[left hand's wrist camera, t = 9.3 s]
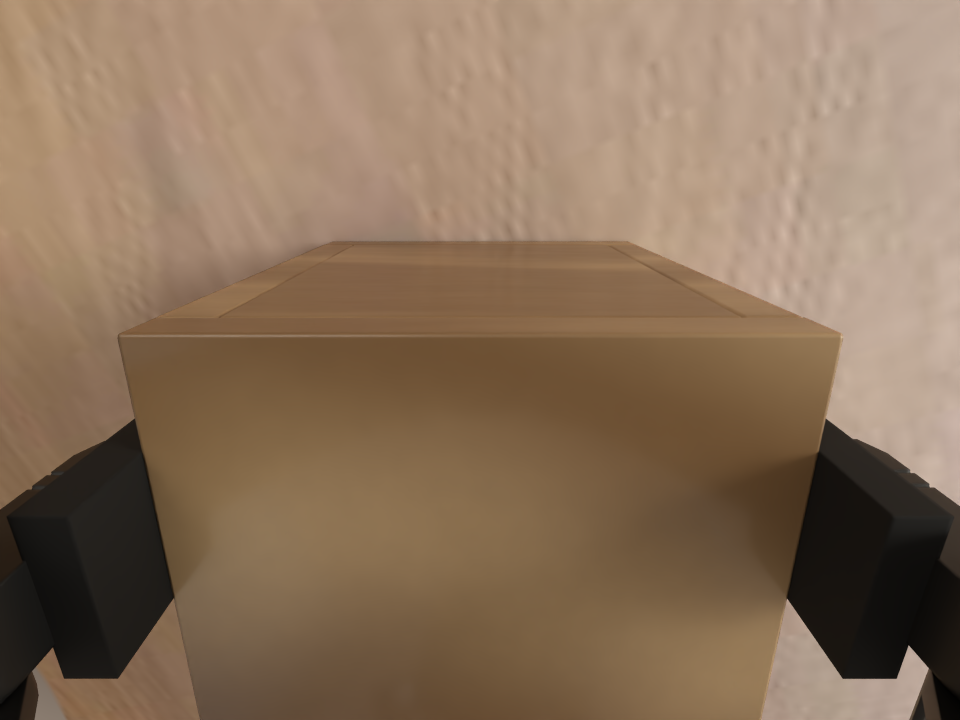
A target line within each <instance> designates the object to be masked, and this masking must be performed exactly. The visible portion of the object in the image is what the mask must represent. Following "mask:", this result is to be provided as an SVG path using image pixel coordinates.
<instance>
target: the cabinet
mask: <svg viewBox="0 0 960 720" xmlns="http://www.w3.org/2000/svg"><path fill="white" fill-rule="evenodd" d="M842 341H843V335H842V333H839V332H837V331H835V330H832V329H830V328H828V327H825V326H823V325H821V324H818V323H816V322H814V321H811V320H809V319H807V318H802V317H801V316H798V315H796V314H794V313H791V312H789V311H787V310H784V309H782V308H780V307H777V306H775V305H773V304H771V303H768V302H766V301H764V300H761V299H759V298H757V297H754V296H752V295H750V294H748V293H745V292H743V291H741V290H738V289H736V288H734V287H731V286H729V285H727V284H724V283H722V282H720V281H718V280H715V279H713V278H711V277H708V276H706V275H704V274H701V273H699V272H697V271H694V270H692V269H690V268H688V267H685V266H683V265H681V264H678V263H676V262H674V261H671V260H669V259H667V258H664V257H662V256H660V255H658V254H655V253H653V252H651V251H648V250H646V249H644V248H641V247H639V246H637V245H635V244H632V243H630V242H628V241H585V242H331V243H329V244H326V245H323V246H321V247H318V248H316V249H314V250H311V251H309V252H307V253H304V254H302V255H300V256H297V257H295V258H293V259H290V260H288V261H286V262H283V263H281V264H279V265H277V266H274V267H272V268H270V269H267V270H265V271H263V272H260V273H258V274H256V275H253V276H251V277H249V278H246V279H244V280H242V281H240V282H237V283H235V284H233V285H230V286H228V287H226V288H223V289H221V290H219V291H216V292H214V293H212V294H209V295H207V296H205V297H202V298H200V299H198V300H196V301H193V302H191V303H189V304H186V305H184V306H182V307H179V308H177V309H175V310H172V311H170V312H168V313H165V314H163V315H161V316H158V317H157V318H155V319H152V320H150V321H148V322H146V323H143V324H141V325H139V326H136V327H134V328H132V329H129V330H127V331H125V332H122V333H120V334H119V335H118V342H119V347H120V351H121V356H122V361H123V365H124V370H125V375H126V379H127V384H128V388H129V393H130V398H131V402H132V407H133V412H134V416H135V421H136V425H137V430H138V435H139V439H140V444H141V449H142V453H143V458H144V462H145V467H146V472H147V476H148V481H149V486H150V490H151V495H152V499H153V504H154V509H155V513H156V518H157V523H158V527H159V532H160V536H161V541H162V546H163V550H164V555H165V560H166V564H167V569H168V573H169V578H170V583H171V587H172V592H173V597H174V601H175V606H176V610H177V615H178V620H179V624H180V629H181V633H182V638H183V643H184V647H185V652H186V657H187V661H188V666H189V670H190V675H191V680H192V684H193V689H194V694H195V698H196V703H197V707H198V712H199V717H200V720H761V717H762V712H763V708H764V703H765V698H766V694H767V689H768V684H769V680H770V675H771V670H772V666H773V661H774V656H775V652H776V647H777V643H778V638H779V633H780V629H781V624H782V619H783V615H784V610H785V605H786V601H787V596H788V591H789V587H790V582H791V578H792V573H793V568H794V564H795V559H796V554H797V550H798V545H799V540H800V536H801V531H802V526H803V522H804V517H805V512H806V508H807V503H808V499H809V494H810V489H811V485H812V480H813V475H814V471H815V466H816V461H817V457H818V452H819V447H820V443H821V438H822V433H823V429H824V424H825V420H826V415H827V410H828V406H829V401H830V396H831V392H832V387H833V382H834V378H835V373H836V368H837V364H838V359H839V354H840V350H841V345H842Z"/></svg>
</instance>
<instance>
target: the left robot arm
mask: <svg viewBox="0 0 960 720" xmlns="http://www.w3.org/2000/svg"><path fill="white" fill-rule="evenodd" d="M173 598H174V597H173V592H172V587H171V583H170V578H169V573H168V569H167V564H166V560H165V555H164V550H163V546H162V541H161V536H160V532H159V527H158V523H157V518H156V513H155V509H154V504H153V499H152V495H151V490H150V486H149V481H148V476H147V472H146V467H145V462H144V458H143V453H142V449H141V444H140V439H139V435H138V430H137V425H136V421H135V419H134V420H132V421H131V422H130V423H128V424H127V425H126V426H125V427H123V428H122V429H121V430H119V431H118V432H117V433H115V434H114V435H113V436H111V437H110V438H109V439H107V440H106V441H104V442H101V443H99V444H97V445H95V446H93V447H91V448H89V449H86V450H84V451H82V452H80V453H78V454H76V455H74V456H72V457H71V458H70V459H68V460H67V461H66V462H64V463H63V464H62V465H60V466H59V467H57V468H56V469H55V470H53V471H52V472H51V475H47V476H45V477H44V478H43V479H41V480H40V481H39V482H37V483H36V484H34V485H33V486H32V490H26V491H25V492H24V493H22V494H21V495H20V496H18V497H17V498H15V499H14V500H13V501H11V502H10V503H9V504H7V505H6V506H5V507H3V508H2V509H1V510H0V720H34V719H35V713H36V707H37V701H38V696H39V695H38V689H37V683H36V680H35V678H34V675H33V673H32V670H33V669H34V668H35V667H36V666H37V665H38V664H39V662H40V661H41V660H42V659H43V658H44V657H45V656H46V654H47V653H48V652H49V651H50V650H51V649H52V647H53V649H54V651H55V654H56V657H57V660H58V663H59V665H60V668H61V671H62V674H63V677H64V679H118V678H119V676H120V675H121V673H122V672H123V670H124V669H125V668H126V666H127V665H128V663H129V662H130V660H131V659H132V657H133V656H134V655H135V653H136V652H137V650H138V649H139V647H140V646H141V644H142V643H143V642H144V640H145V639H146V637H147V636H148V634H149V633H150V631H151V630H152V629H153V627H154V626H155V624H156V623H157V621H158V620H159V618H160V617H161V616H162V614H163V613H164V611H165V610H166V608H167V607H168V605H169V604H170V603H171V601H172V600H173ZM787 599H788V600H789V602H790V603H791V605H792V606H793V607H794V609H795V610H796V612H797V613H798V615H799V616H800V618H801V619H802V620H803V622H804V623H805V625H806V626H807V628H808V629H809V631H810V632H811V633H812V635H813V636H814V638H815V639H816V641H817V642H818V644H819V645H820V646H821V648H822V649H823V651H824V652H825V654H826V655H827V656H828V658H829V659H830V661H831V662H832V664H833V665H834V667H835V668H836V669H837V671H838V672H839V674H840V675H841V677H842V678H843V679H897V676H898V673H899V671H900V668H901V665H902V662H903V659H904V657H905V654H906V651H907V648H908V645H909V646H910V647H911V648H912V649H913V650H914V652H915V653H916V654H917V655H918V656H919V657H920V658H921V660H922V661H923V662H924V663H925V664H926V665H927V666H928V668H929V670H928V673H927V675H926V678H925V680H924V683H923V686H922V688H921V691H920V693H919V696H918V699H917V701H916V704H915V707H914V709H913V712H912V714H911V717H910V720H960V506H959V505H957V504H956V503H955V502H953V501H952V500H950V499H949V498H948V497H946V496H945V495H944V494H942V493H941V492H940V491H938V490H937V489H935V488H930V487H929V483H927V482H926V481H924V480H923V479H922V478H920V477H919V476H918V475H916V474H915V473H910V470H909V469H908V468H907V467H905V466H904V465H903V464H901V463H900V462H899V461H897V460H896V459H894V458H893V457H892V456H890V455H889V454H888V453H886V452H883V451H881V450H879V449H877V448H875V447H873V446H870V445H868V444H866V443H864V442H862V441H860V440H858V439H852V438H851V437H849V436H848V435H847V434H845V433H844V432H843V431H841V430H840V429H839V428H837V427H836V426H835V425H833V424H832V423H831V422H830V421H828V420H827V419H826V420H825V424H824V429H823V433H822V438H821V443H820V447H819V452H818V457H817V461H816V466H815V471H814V475H813V480H812V485H811V489H810V494H809V499H808V503H807V508H806V512H805V517H804V522H803V526H802V531H801V536H800V540H799V545H798V550H797V554H796V559H795V564H794V568H793V573H792V578H791V582H790V587H789V591H788V596H787Z"/></svg>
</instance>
